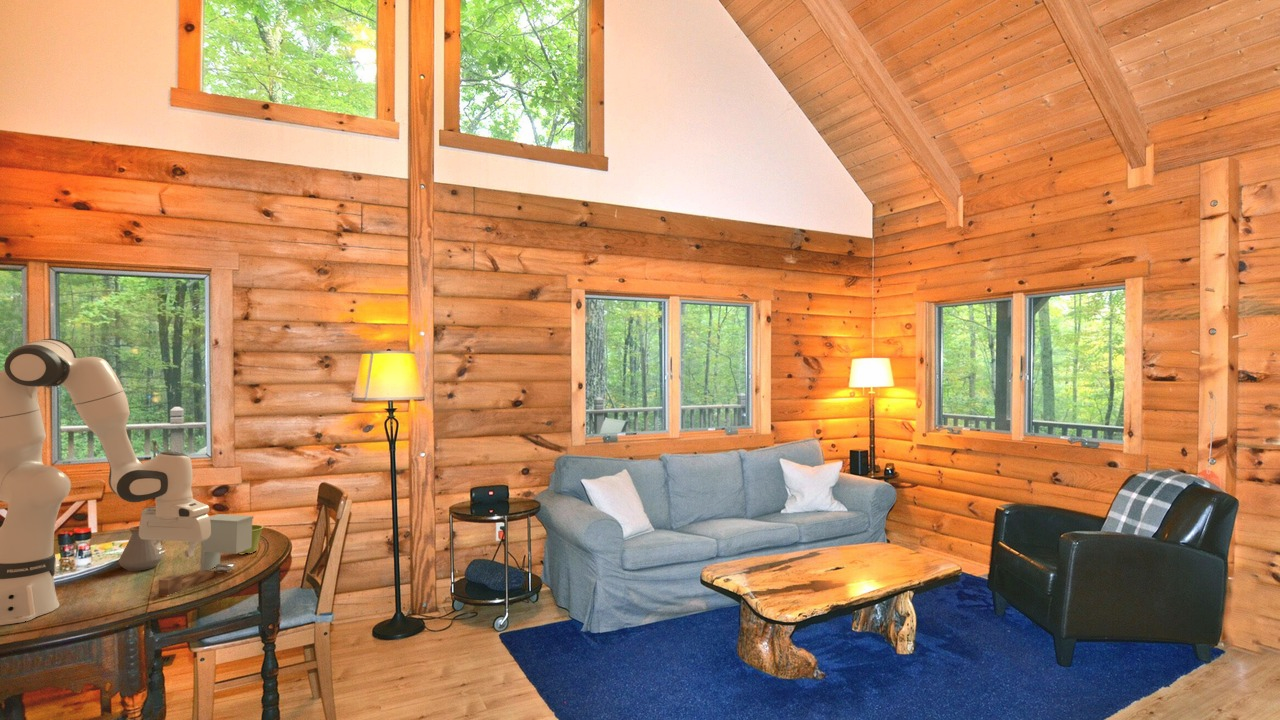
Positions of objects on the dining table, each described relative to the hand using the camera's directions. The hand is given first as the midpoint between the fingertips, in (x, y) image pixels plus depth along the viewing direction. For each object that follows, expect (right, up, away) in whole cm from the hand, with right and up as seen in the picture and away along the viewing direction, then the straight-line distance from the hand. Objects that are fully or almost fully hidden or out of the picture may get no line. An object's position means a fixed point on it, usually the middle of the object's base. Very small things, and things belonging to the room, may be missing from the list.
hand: (174, 555), depth 192 cm
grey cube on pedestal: (+2, -11, +21) cm, 24 cm away
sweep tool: (0, -11, +6) cm, 12 cm away
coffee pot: (-28, -11, +26) cm, 40 cm away
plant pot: (-3, -11, +41) cm, 43 cm away
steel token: (+2, -11, +21) cm, 24 cm away
